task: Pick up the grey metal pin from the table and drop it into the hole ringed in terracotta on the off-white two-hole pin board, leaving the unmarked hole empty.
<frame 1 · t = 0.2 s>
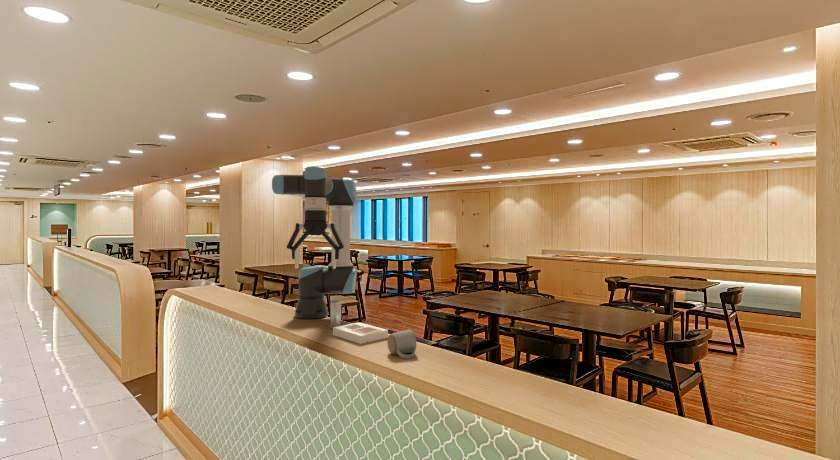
hand: (315, 268, 167), 28 cm above the table, fingers open, 13 cm apart
pin board: (360, 336, 179), on the table
ceramic mug: (404, 355, 156), on the table
pin: (335, 328, 192), on the table
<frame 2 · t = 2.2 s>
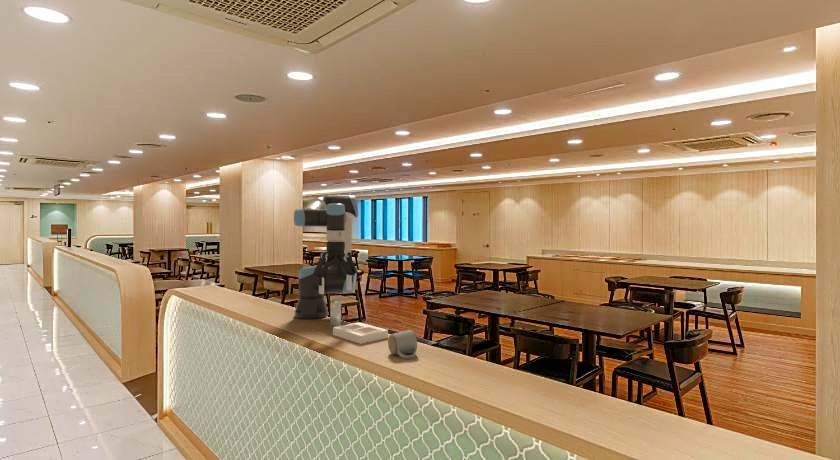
hand: (335, 292, 191), 15 cm above the table, fingers open, 13 cm apart
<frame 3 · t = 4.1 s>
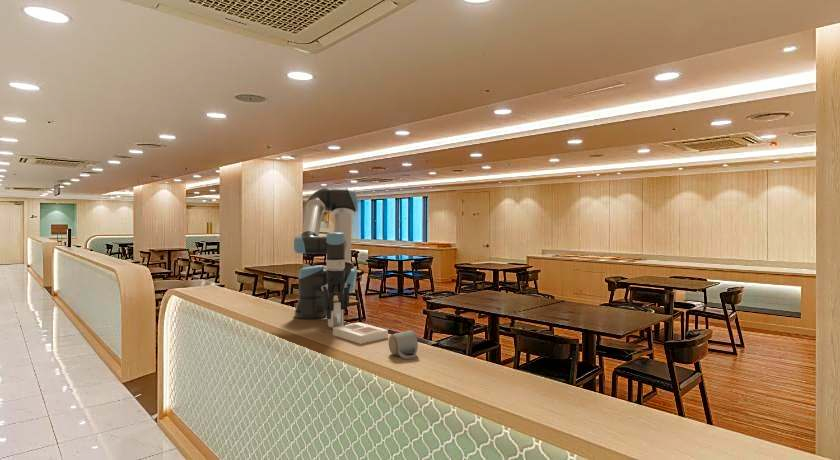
hand: (335, 325, 192), 1 cm above the table, fingers closed on pin, 4 cm apart
pin: (335, 328, 192), on the table, touching gripper
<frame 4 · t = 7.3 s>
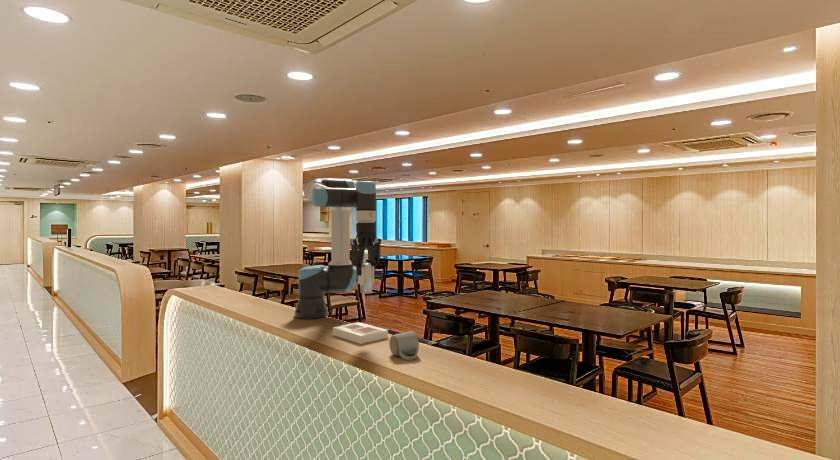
hand: (366, 283, 176), 21 cm above the table, fingers closed on pin, 4 cm apart
pin: (366, 292, 176), point 17 cm above the table, touching gripper
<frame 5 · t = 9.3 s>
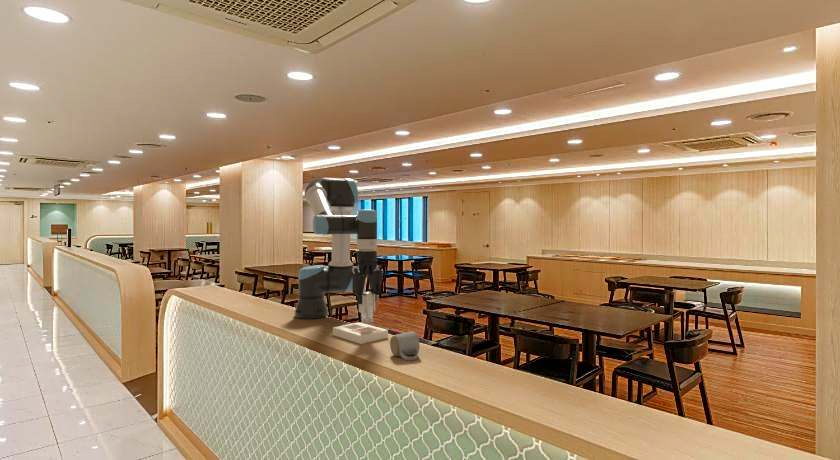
hand: (367, 311, 176), 10 cm above the table, fingers closed on pin, 4 cm apart
pin: (367, 321, 176), point 6 cm above the table, touching gripper
when the fingers open (5 cm above the table, at t = 10.6 s): pin drops 2 cm, resting in pin board.
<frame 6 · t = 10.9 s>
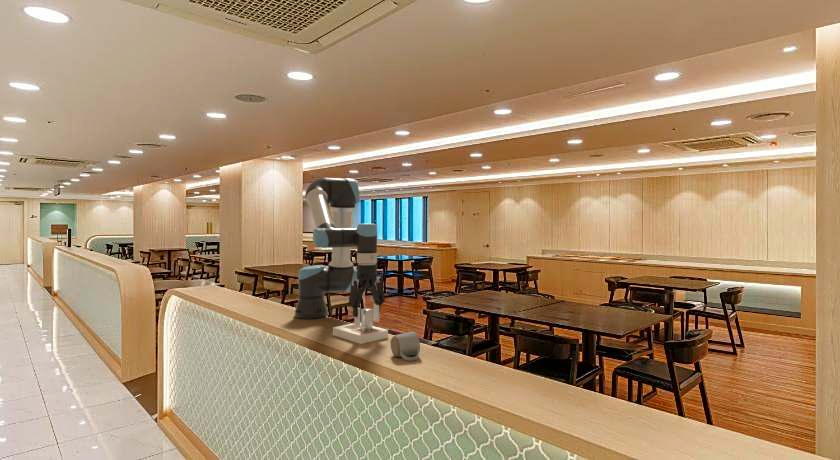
hand: (366, 323, 176), 6 cm above the table, fingers open, 8 cm apart
pin: (366, 338, 176), resting in pin board
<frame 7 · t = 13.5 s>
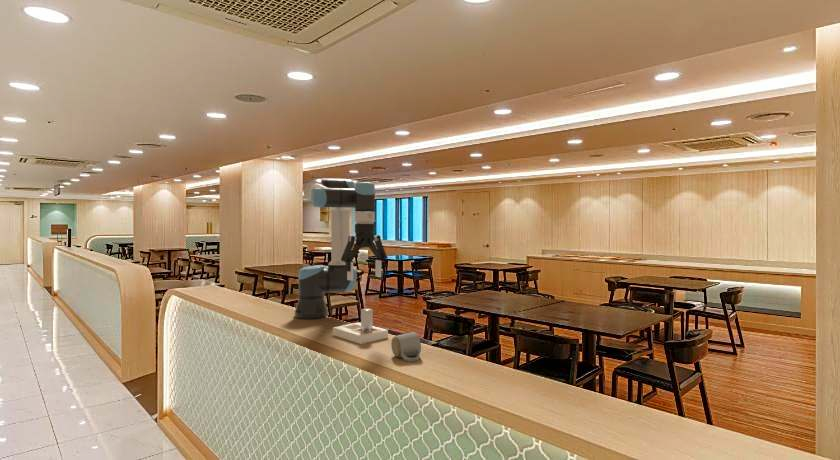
hand: (364, 278, 176), 23 cm above the table, fingers open, 13 cm apart
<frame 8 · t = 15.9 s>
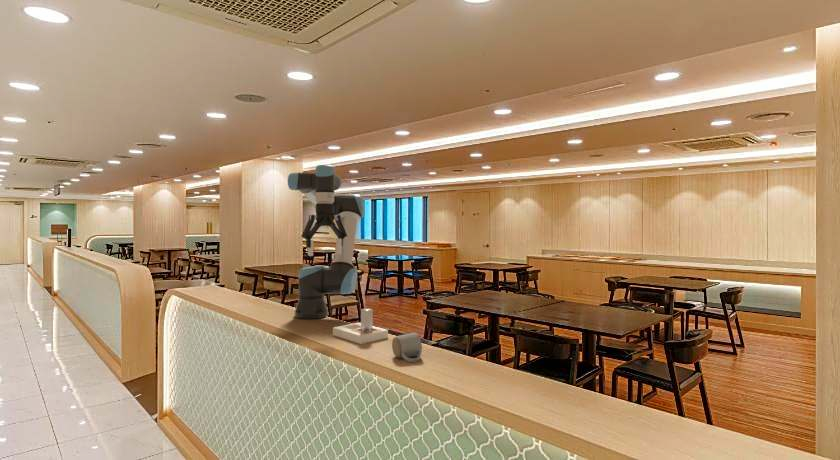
hand: (325, 255, 189), 31 cm above the table, fingers open, 13 cm apart
at the end: pin 0.1 cm from the target spot on the pin board, point 0.0 cm above the pin board's base; pin tilted 0°; the gripper is holding nothing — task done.
